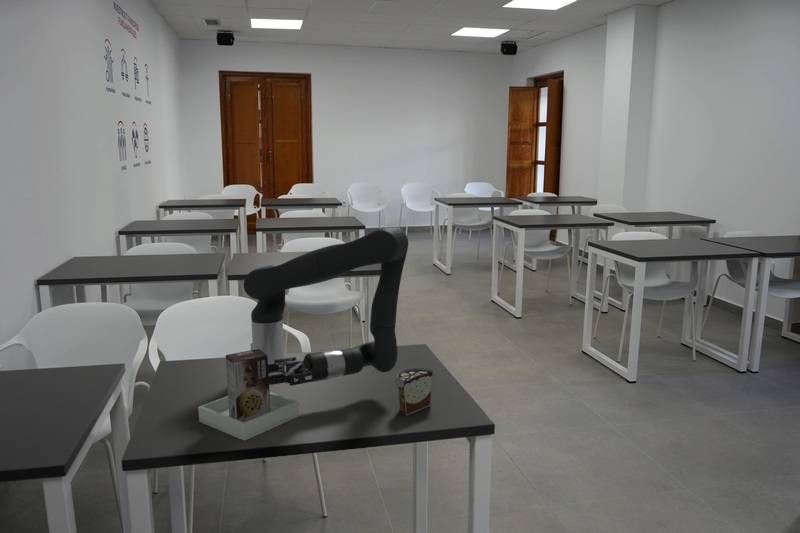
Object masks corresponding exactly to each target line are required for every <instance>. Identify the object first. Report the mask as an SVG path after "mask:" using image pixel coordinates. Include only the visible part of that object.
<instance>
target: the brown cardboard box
mask: <svg viewBox="0 0 800 533" xmlns="http://www.w3.org/2000/svg"><path fill="white" fill-rule="evenodd" d="M225 367H226V385H227V386H226V387H227V396H228V403H229V415H230V416H231V417H232V418H233V419H236V420H238V421H241V422H244V421H248V420H252V419H255V418H257V417H259V416H262V415H264V414H267V413H269V412H271V409H270V392H271V391H270V383H269V372H268V355H266V354H265V353H264V352H263V351H261V350H260V349H255V350H251V349H250V350H245V351H239V352H235V353H230V354H229V353H228V354H225Z"/></svg>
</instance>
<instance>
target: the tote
mask: <svg viewBox="0 0 800 533" xmlns="http://www.w3.org/2000/svg"><path fill="white" fill-rule="evenodd" d="M299 403H300V402H299V401H298V400H294V399H291V398H289V397H286V396H283V395H280V394H277V393H274V392H271V391H270V409H271V412H269V413H267V414H264V415H262V416H259V417H257V418H255V419H252V420H248V421H244V422H241V421H238V420H236V419H233V418H232V417H231V416H230V415H229V403H228V395H226V396H224V397H222V398H219V399H216V400H212V401H210V402H208V403H205V404H202V405H200V406H198V407H197V409H198V422H199V423H202V424H204V425H207V426H208V427H211V428H213V429H216V430H219V431H220V432H222V433H225V434H227V435H230V436H231V437H234V438H237V439H239V440H242V441H243V442H244V441H247V440H249V439H253V438H254V437H256V436H259V435H260V434H263V433H266V432H267V431H269V430H272V429H274V428H276V427H278V426H281V425H283V424H285V423H287V422H290V421H293V420H294V419H296V418H300V408H299V407H300V405H299Z"/></svg>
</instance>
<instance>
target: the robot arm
mask: <svg viewBox="0 0 800 533" xmlns="http://www.w3.org/2000/svg"><path fill="white" fill-rule="evenodd" d="M408 238H409V237H408V236H407V234H406V232H405V231H404V230H403V229H402V228H399V227H397V226H390V227H381V228H378V229H376V230H374V231H372V232H370V233H368V234H366V235H365V234H364V235H363V236H361V237H359V238H357V239H354V240H351V241H348V242H345V243H338V244H333V245H332V244H331V245H327V246H323V247H320V248H317V249H314V250H311V251H308V252H306V253H303V254H300V255H299V256H297V257H294V258H292V259H290V260H287V261H286V262H283V263H281V264H278V265H270V264H269V265H265V266H261V267H259V268H255V269H253V270H251V271H250V272H249V273H248V274H246V276H245V278H244V280H243V290H244V293H246V295H247V296H248V297H250V298H252V299H253V300H257V303H256V305H255V307H254V308H253V309H252V311H251V315H250V317H251V339H252V342H251V343H250V350H255V349H260V350H261V351H263V352H264V353H265V354H266V355H268V372H269V386H273V385H278V384H279V385H280V384H285V385H286V384H287V385H288V384H289V386H291V387H292V386H297V385H302V384H307V383H315V382H320V381H326V380H332V379H337V378H339V377H343V376H344V377H345V376H350V375H355V374H359V373H360V372H362V370H363V368H365V367H367V366H371V367H373V368H374V369H376V371H378V372H380V373H388V372H390V371H392V370H393V369H394V368H395V366H396V364H397V361H398V344H397V336H396V326H397V325H396V322H397V312H398V311H397V309H398V308H397V307H398V299H399V291H400V285H401V280H402V277H403V276H402V274H403V270H404V265H405V262H406V257H407V254H408V251H409V250H408V248H409V239H408ZM378 264H380V275H379V280H378V283H377V286H376V290H375V293H374V296H373V299H372V303H371V309H370V323H369V331H370V334H371V335H372V337H373V340H372V341H368V342H363V343H361V344H359V345H357V346H354V347H351V348H342V349H331V350H324V351H323V350H322V351H317V352H311V353H306V354H305V355H304V358H303V360H298V359H297V357H296V356H295V357H286V358H285V346H284V345H285V344H284V342H285V340H284V311H285V308H286V290H289V289H295V288H301V287H305V286H306V287H307V286H310V285H315V284H321V283H323V282H327V281H330V280H335V279H337V278H340V277H341V276H344V275H346V274H347V273H350V272H351V271H353V270H355V269H357V268H358V269H359V268H362V267H367V266H372V265H378Z"/></svg>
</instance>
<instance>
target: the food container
mask: <svg viewBox="0 0 800 533" xmlns="http://www.w3.org/2000/svg"><path fill="white" fill-rule="evenodd" d="M434 377H436V375H435V371H434V368H430V367H423V366H422V367H421V366H420V367H418V366H415V367H408V368H404V369H401V370H399V371H398V372H397V374H396V377H395V385H396V386H397V388H398V391H397V392H398V397H399V398H398V399H399V400H398V401H399V411H400V413H401V414H402V415H403V416H409V415H412V414H414V413H416V412H419V411H421V410H424V409H426V408H428V407H431V405H432V394H433V382H434V381H433V380H434Z"/></svg>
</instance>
